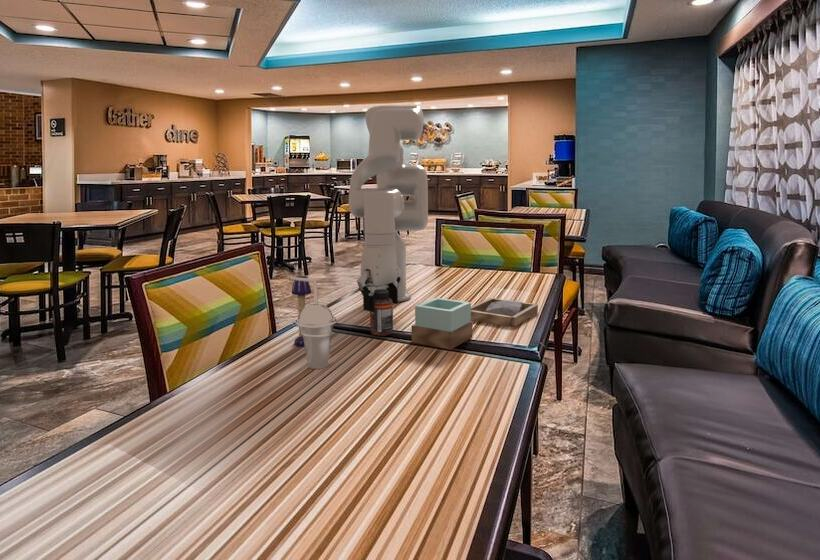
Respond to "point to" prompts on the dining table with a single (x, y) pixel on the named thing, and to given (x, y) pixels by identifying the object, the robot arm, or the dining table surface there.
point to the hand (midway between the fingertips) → (381, 306)
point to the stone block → (505, 308)
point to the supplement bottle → (382, 314)
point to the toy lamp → (300, 303)
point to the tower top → (443, 314)
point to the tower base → (441, 336)
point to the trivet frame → (515, 320)
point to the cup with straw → (316, 330)
